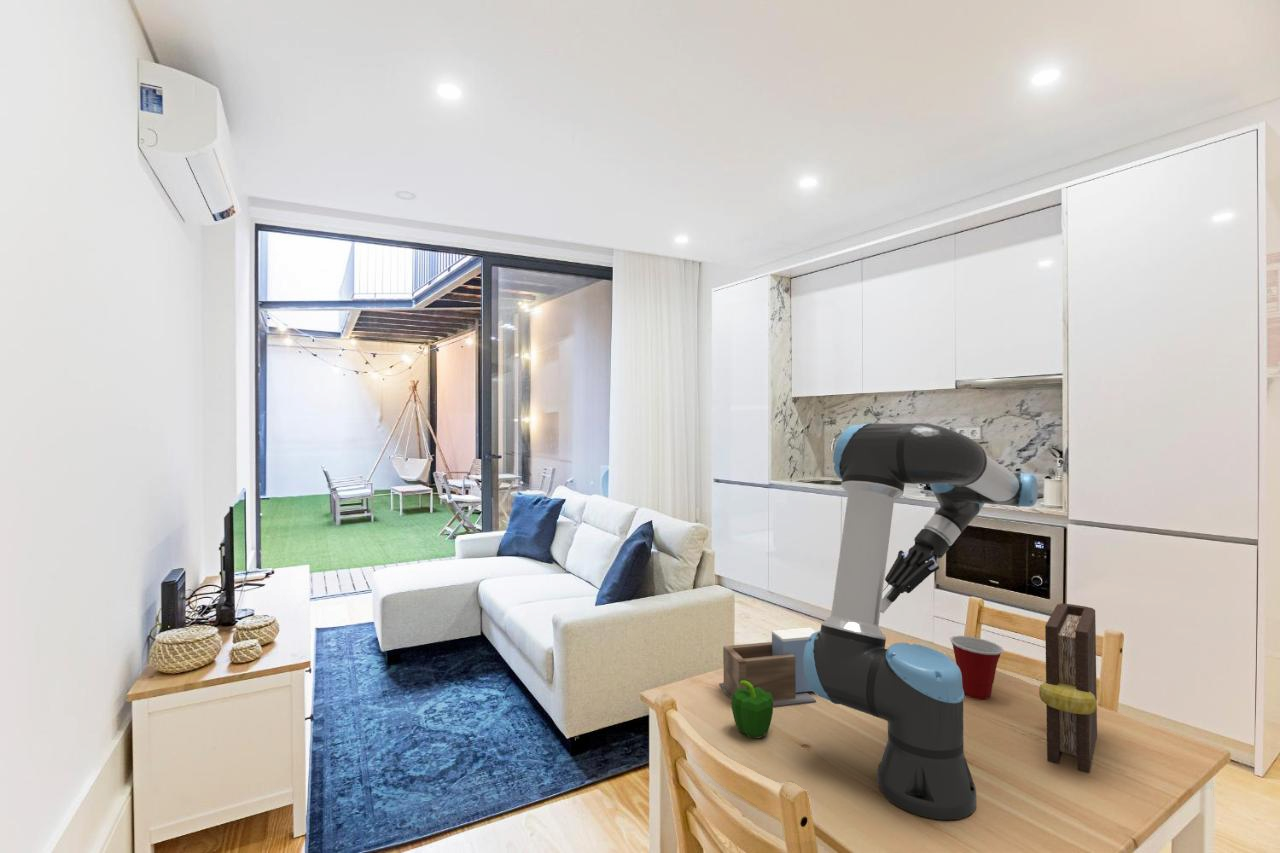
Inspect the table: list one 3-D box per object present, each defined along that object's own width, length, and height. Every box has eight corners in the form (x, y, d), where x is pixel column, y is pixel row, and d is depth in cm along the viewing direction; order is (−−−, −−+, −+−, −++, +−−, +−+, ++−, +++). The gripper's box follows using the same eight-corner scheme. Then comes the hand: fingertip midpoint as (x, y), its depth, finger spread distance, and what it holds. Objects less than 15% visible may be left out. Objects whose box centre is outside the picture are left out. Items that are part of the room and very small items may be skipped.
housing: (816, 702, 136) (815, 658, 136) (741, 711, 132) (740, 665, 132) (787, 677, 150) (787, 637, 150) (719, 685, 146) (718, 643, 146)
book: (1053, 720, 127) (1051, 601, 127) (1104, 733, 121) (1102, 609, 121) (1037, 765, 110) (1035, 628, 110) (1096, 783, 105) (1093, 638, 105)
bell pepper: (783, 734, 122) (782, 685, 122) (753, 746, 118) (752, 695, 118) (753, 718, 129) (753, 671, 129) (724, 729, 125) (724, 680, 125)
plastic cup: (1012, 706, 133) (1012, 652, 134) (960, 703, 135) (959, 649, 135) (992, 685, 144) (991, 635, 144) (943, 683, 146) (943, 633, 146)
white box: (823, 689, 141) (822, 635, 141) (783, 694, 139) (783, 639, 139) (810, 679, 147) (809, 627, 147) (772, 683, 145) (771, 630, 145)
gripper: (964, 552, 146) (904, 627, 142) (928, 542, 158) (872, 611, 155) (945, 531, 145) (884, 606, 141) (910, 523, 157) (853, 591, 154)
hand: (878, 608), depth 148 cm, fingers closed
